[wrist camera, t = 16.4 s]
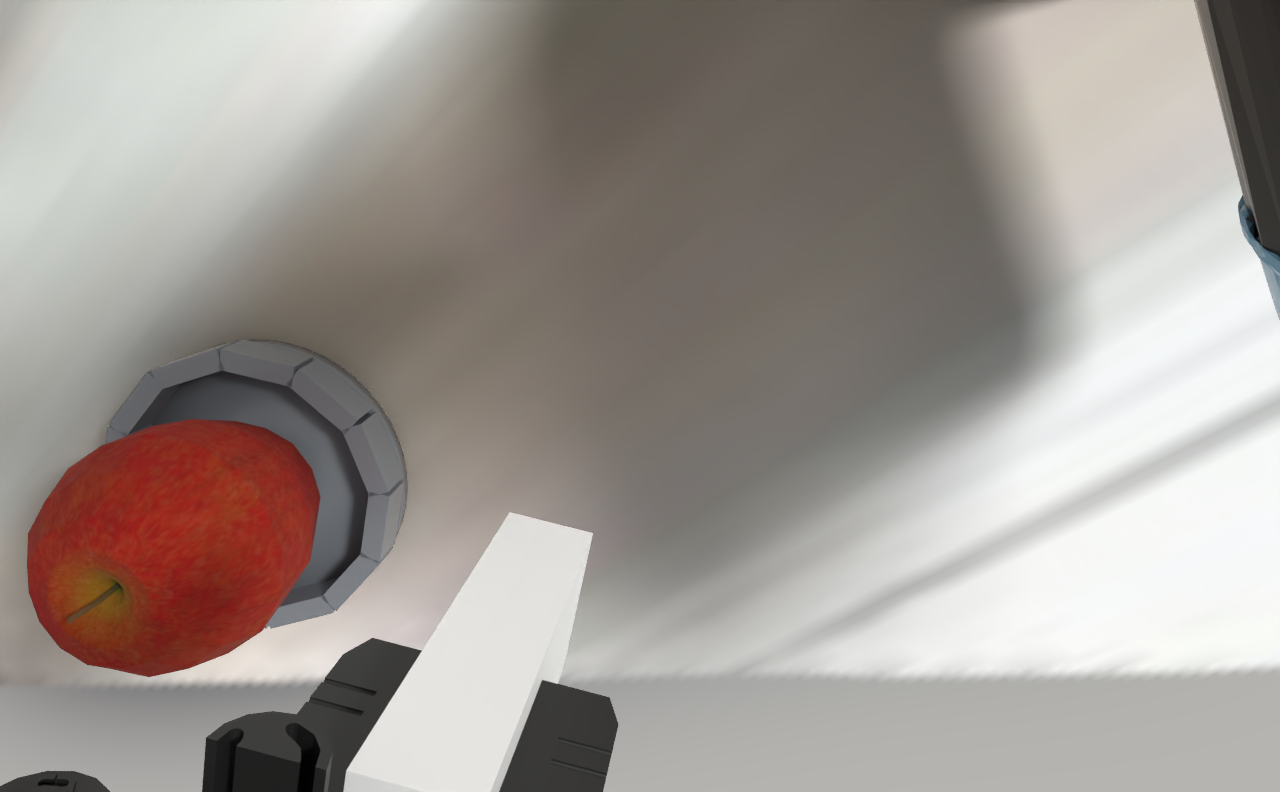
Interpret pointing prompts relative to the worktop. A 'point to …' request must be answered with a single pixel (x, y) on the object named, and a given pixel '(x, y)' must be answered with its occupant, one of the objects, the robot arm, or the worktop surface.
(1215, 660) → the worktop surface
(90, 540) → the apple
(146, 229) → the worktop surface
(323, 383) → the grey shallow round dish
